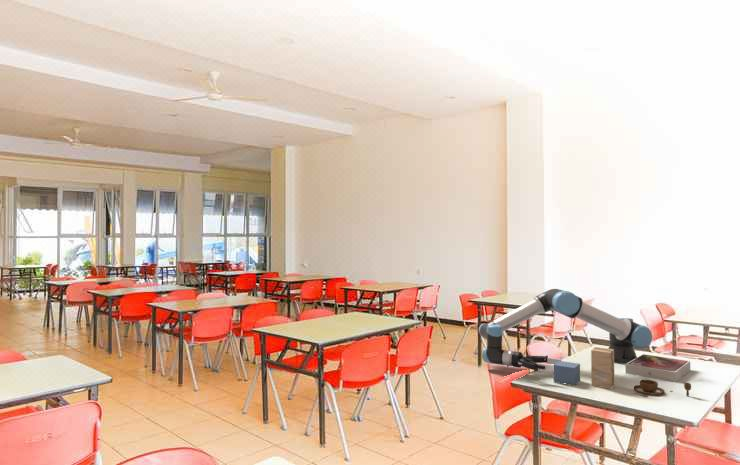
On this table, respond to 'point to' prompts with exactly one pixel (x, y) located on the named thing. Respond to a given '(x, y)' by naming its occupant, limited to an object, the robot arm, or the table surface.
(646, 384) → the place setting
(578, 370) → the blue cube
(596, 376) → the box
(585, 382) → the table surface
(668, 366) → the product packaging
